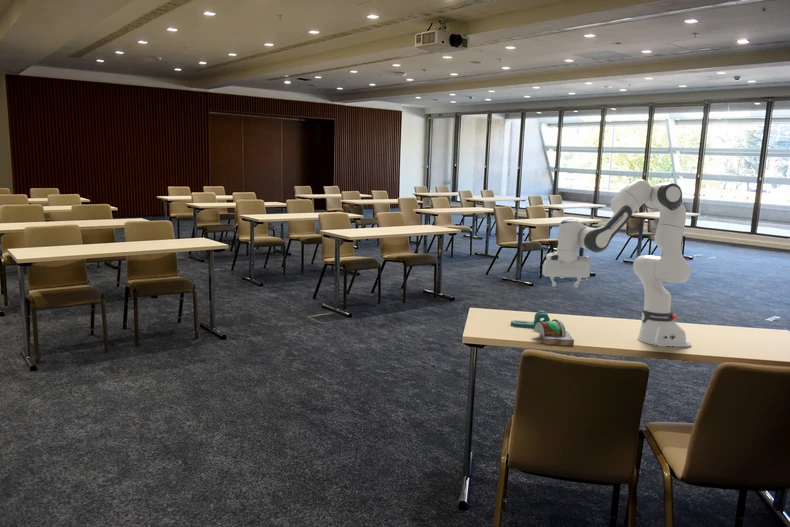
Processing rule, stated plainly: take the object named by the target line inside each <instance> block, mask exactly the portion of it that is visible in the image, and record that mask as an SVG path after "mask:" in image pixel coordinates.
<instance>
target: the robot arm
mask: <svg viewBox="0 0 790 527" xmlns="http://www.w3.org/2000/svg"><path fill="white" fill-rule="evenodd" d="M682 191H683V190H682V189H681V186H680V185H678V184H677V183H674V182H661V183H656V184H652V185H651V184H650V183H649V182H648V181H647V180H645V179H643V178H642V179H641V178H639V179H635V180H634V181H632V182H630V183H628V184H627V185H626V186H624V187H623V188H622V189H620V190H619V192H617V193H616V194H615V195H614V196H613V197H612V199H611V200H610V208H611V211H612V212H613V214H612V216H611V217H610V218H608V220H607V221H606V222H605V223H604V224H603V225H602V226H599V227H596V228H595V227H591V226H587V225H585V224H583V223H581V221H579V220H578V219H577V218H576V219H575V218H570V219H569V218H568V219H564V220H562V221H560V222H559V226H558V229H557V230H558V232H557V242H558V243H557V247H556V251H553V252H549V253H547V254H546V255H545V258H546V259H544V261H543V265H542V272H541V273H542V275H543V276H544V277H549V279H550V280H551V283H552V284H551V285H552V287H554V288H555V287H556V288H557V282H555V281H554V279H555V278H560V277H561V278H576V279H577V280H576V282H574V283H573V288H579V284H580V282H581V280H582V278H584V279H585V278H589V277H590V275H591V270H590V266H591V263H592V260H591V258H590V257H588V256H581V255H580V256H578V253H579V252H578V251H579V250H578V249H579V248H582V249H585V250H589V251H590V252H593V253H601V252H603V251H605V250H606V249H607V248H608V247H609V245H610V243H611V241H612V239H613V238H614V237H615V236H616V235H617V234H618V232H619V231H620V230H621V229H622V228H624V226H625V225H626V224H627V222H628V221H629V220H631V218H632V215H633V214H634V213H635V212H636V211H637V210H638V209H639V208H641V206H643V207H644V208H646V209H649V210H650V209H652V210H653V209H656V210H657V209H658V211H659V219H658V221H657V222H658V223H657V227H656V229H655V230H656V231H655V236H654V244H656V246H657V247H658V248H660V249H661V251H662V252H661V254H662V255H661V256H660V255H651V254H646V255H645V254H644V255H639V256H637V257H636V258H635V260H634V261H633V263H632V270H633V272H634V274H635V276H637V278H639V280H640V282H641V284H642V287H643V291H644V301H643V302H644V303H643V309H642V313H641V324H640V329H639V332H638V335H637V337H636V340H637V341H639V342H641V343H644V344H649V345H654V346H656V345H658V346H657V347H666V346H671V347H672V346H674V347H679V348H681V347H687V348H689V347H691V346H692V343H691V341H689V340H688V339H687V335H686V331H685V330H684V329H683V328H682V326H680V325H679V324H678V323H677V322H676V321H674V320H678V318H679V316H678V314H677V313H672V312H671V307H672V295H671V293H670V292H669V291H668V290H667V288H665V287H664V285H663V282H664V283H669V284H670V283H671V284H684V283H685V282H687V281H688V280H689V279H690V276H691V273H692V272H691V270H692V269H691V266H690V264H689V263H688V261H687V260H686V259H685V257H684V255H683V253H682V240H683V234H684V231H685V227H686V220H687V219H686V218H687V208H686V207H685V206H684V205H683V204H682V203H683V192H682ZM671 347H670V348H671ZM672 348H673V347H672Z"/></svg>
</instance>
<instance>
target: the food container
mask: <svg viewBox="0 0 790 527" xmlns="http://www.w3.org/2000/svg"><path fill="white" fill-rule="evenodd" d="M533 331H534V332H535V333H537V334H539V335H540V334H541V335H543V336H562V337H563V336H566V331H567V330H566V326H565V325H564V323H563V322H562V321H561V320H559V319H552V320H550V321H547V322H538V323H536V325H535V328H533Z"/></svg>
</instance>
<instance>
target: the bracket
mask: <svg viewBox="0 0 790 527" xmlns="http://www.w3.org/2000/svg"><path fill="white" fill-rule="evenodd" d="M547 321H551V319H550V315H549V313H547V312H546V311H544V310H540V311H537V312H536V313H534V321H531V320H511V321H510V326H512V327H515V328H527V329H534V328H535V325H536V323H538V322H547Z"/></svg>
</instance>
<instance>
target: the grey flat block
mask: <svg viewBox="0 0 790 527" xmlns="http://www.w3.org/2000/svg"><path fill="white" fill-rule="evenodd" d="M539 336H540V338H541V339H542V340H543V342H544V345H554V346H571V347H574V345H575V344H574V343H575V339H574V338H573V337H572V336H571V334H570V333H569V332H568V330H566V336H563V337H562V336H543V335H541V334H539Z"/></svg>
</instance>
